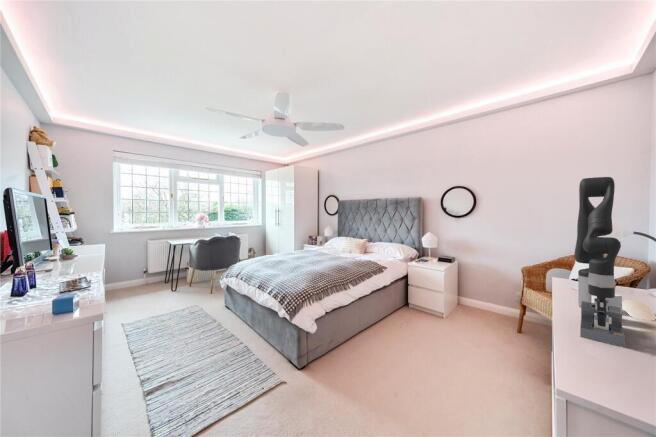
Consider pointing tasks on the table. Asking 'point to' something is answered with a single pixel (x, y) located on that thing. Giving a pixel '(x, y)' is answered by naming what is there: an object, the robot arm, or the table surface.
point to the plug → (608, 321)
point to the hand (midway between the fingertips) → (601, 322)
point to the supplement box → (612, 301)
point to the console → (598, 334)
